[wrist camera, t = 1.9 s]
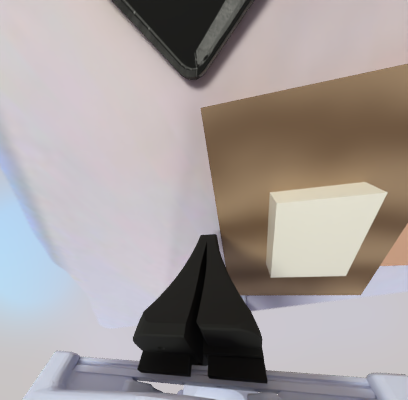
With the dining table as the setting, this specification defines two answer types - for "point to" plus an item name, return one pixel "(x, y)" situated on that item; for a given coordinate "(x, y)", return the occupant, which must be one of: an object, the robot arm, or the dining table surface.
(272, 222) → the tile
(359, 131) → the butcher block
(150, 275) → the dining table surface
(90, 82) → the dining table surface
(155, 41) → the phone
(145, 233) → the dining table surface
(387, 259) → the mat
